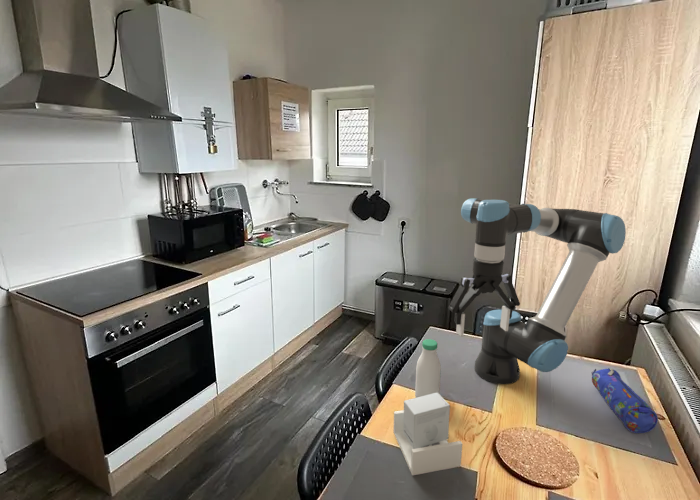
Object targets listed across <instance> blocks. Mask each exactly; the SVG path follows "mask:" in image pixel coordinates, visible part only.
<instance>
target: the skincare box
mask: <svg viewBox="0 0 700 500" xmlns="http://www.w3.org/2000/svg"><path fill="white" fill-rule="evenodd" d="M450 405H451V404H450V403H448V402H447V401H446V400H445V399H444V397H443V396H442V395H441V394H439V393H438V392H437V393H433V394H429V395H425V396H421V397H417V398H416V397H414V398H410V399H405V400H403V410H404V425H403V434H404V435H405V437H406V438H407V440H408V441H409V443H410V444H411V446H412V448H413V449H416V448H421V447H424V446H427V445H431V444H434V443H437V442H440V441H444V440H447V441H448V440H449V431H450V427H449V426H450V409H451V406H450Z"/></svg>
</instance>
